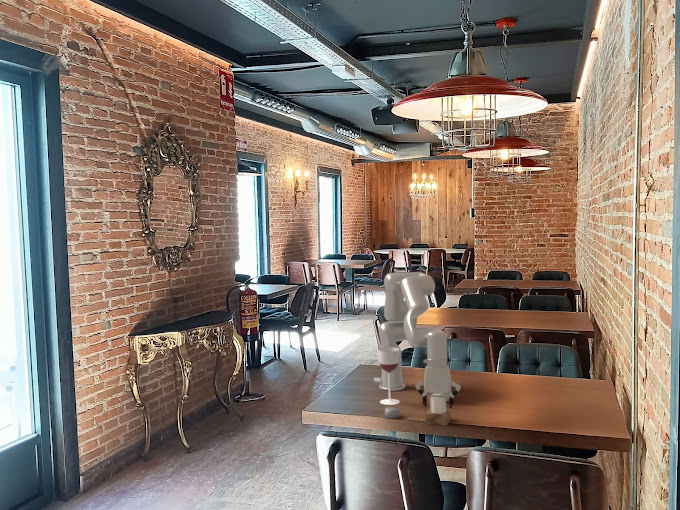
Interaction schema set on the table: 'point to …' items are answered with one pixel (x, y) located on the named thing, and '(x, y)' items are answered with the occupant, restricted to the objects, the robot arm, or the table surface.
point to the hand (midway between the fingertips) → (438, 406)
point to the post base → (438, 418)
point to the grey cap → (391, 412)
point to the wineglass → (388, 367)
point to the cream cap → (438, 403)
